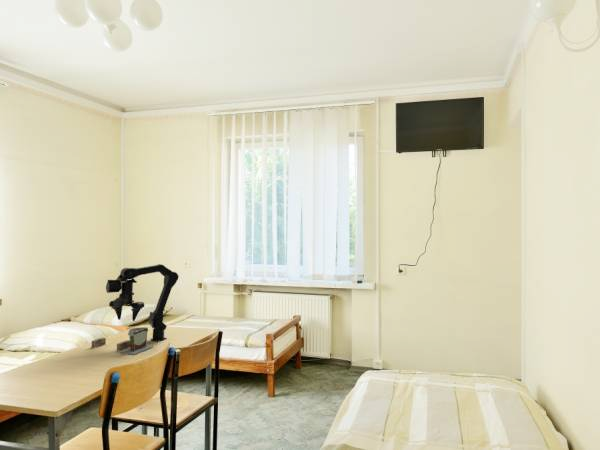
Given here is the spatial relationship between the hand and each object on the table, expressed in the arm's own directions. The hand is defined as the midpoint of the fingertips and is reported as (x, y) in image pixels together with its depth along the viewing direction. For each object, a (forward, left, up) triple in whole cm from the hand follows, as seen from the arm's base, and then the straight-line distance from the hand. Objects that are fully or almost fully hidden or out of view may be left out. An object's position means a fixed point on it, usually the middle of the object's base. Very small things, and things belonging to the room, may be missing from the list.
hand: (126, 320), depth 246 cm
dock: (+8, -3, -13) cm, 16 cm away
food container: (+7, +12, -13) cm, 19 cm away
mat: (+8, +13, -13) cm, 20 cm away
